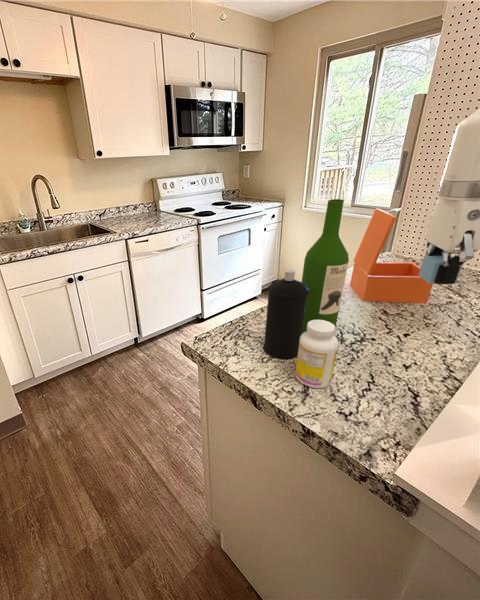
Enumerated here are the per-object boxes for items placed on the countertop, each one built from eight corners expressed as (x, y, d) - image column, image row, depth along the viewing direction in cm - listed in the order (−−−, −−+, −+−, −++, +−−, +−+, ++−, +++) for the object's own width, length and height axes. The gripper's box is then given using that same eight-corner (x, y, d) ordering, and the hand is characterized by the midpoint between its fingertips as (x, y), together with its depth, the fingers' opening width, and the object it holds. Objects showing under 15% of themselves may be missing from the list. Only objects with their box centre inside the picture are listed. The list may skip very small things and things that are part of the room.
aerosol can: (281, 363, 69) (291, 281, 61) (255, 346, 76) (260, 269, 68) (308, 352, 72) (321, 272, 63) (280, 336, 79) (289, 262, 70)
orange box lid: (378, 208, 91) (375, 208, 91) (396, 217, 80) (393, 216, 80) (356, 261, 99) (353, 260, 99) (370, 275, 88) (367, 274, 88)
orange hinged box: (406, 285, 98) (413, 262, 94) (426, 303, 87) (435, 277, 84) (349, 284, 102) (354, 262, 99) (362, 301, 91) (368, 276, 88)
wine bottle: (314, 343, 75) (337, 205, 61) (287, 326, 83) (303, 201, 69) (343, 334, 77) (371, 199, 63) (314, 318, 85) (334, 195, 71)
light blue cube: (443, 275, 68) (450, 255, 66) (456, 283, 64) (463, 262, 62) (418, 275, 69) (424, 255, 67) (429, 283, 65) (435, 263, 63)
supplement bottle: (316, 366, 67) (325, 314, 62) (338, 386, 61) (351, 330, 56) (288, 372, 67) (294, 320, 61) (307, 392, 61) (317, 337, 55)
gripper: (527, 194, 50) (486, 295, 58) (462, 182, 65) (436, 265, 72) (469, 197, 52) (437, 295, 60) (419, 185, 67) (398, 265, 75)
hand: (437, 277), depth 66 cm, fingers closed on light blue cube, 4 cm apart
